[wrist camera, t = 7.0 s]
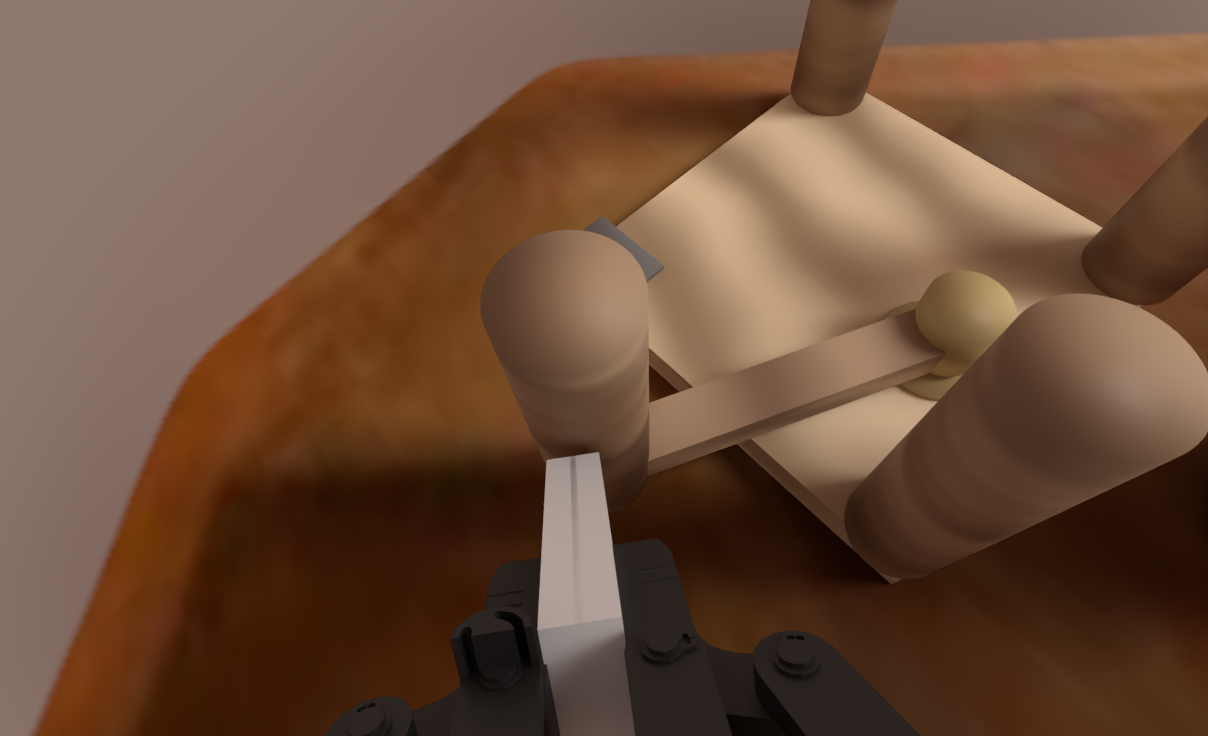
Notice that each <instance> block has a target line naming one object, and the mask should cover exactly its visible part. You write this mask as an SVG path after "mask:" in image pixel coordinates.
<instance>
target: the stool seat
mask: <svg viewBox="0 0 1208 736" xmlns="http://www.w3.org/2000/svg"><path fill="white" fill-rule="evenodd" d="M896 3H897V0H811V1H810V5H809V9H808V14H807V19H806V23H805V27H804V32H803V36H802V41H801V45H800V49H799V54H798V58H797V63H796V67H795V71H794V76H793V80H792V85H791V93H790V94H789V95H788V96H786V97H785V98H784V99H782V100H781V101H780V102H778V103H777V104H776V105H775V106H773V107H772V108H771V109H769V110H768V111H767V112H765V113H764V114H763V115H761V116H760V117H759V118H758V119H756V120H755V121H754V122H752V123H751V124H750V125H748V126H747V127H746V128H744V129H743V130H742V131H740V132H739V133H738V134H737V135H735V136H734V137H733V138H731V139H730V140H729V141H727V142H726V143H725V144H723V145H722V146H721V147H719V148H718V149H717V150H716V151H714V152H713V153H712V154H710V155H709V156H708V157H706V158H705V159H704V160H702V161H701V162H700V163H699V164H697V165H696V166H695V167H693V168H692V169H691V170H689V171H688V172H687V173H685V174H684V175H683V176H681V177H680V178H679V179H678V180H676V181H675V182H674V183H672V184H671V185H670V186H668V187H667V188H666V189H664V190H663V191H662V192H660V193H659V194H658V195H657V196H655V197H654V198H653V199H651V200H650V201H649V202H647V203H646V204H645V205H643V206H642V207H641V208H640V209H638V210H637V211H636V212H634V213H633V214H632V215H630V216H629V217H628V218H626V219H625V220H624V221H622V222H621V223H620V224H619V225H617V226H614V225H613V224H612V223H611V222H609V221H608V220H607V219H606V218H604V217H603V216H601V217H600V218H599V219H597V220H596V221H595V222H593V223H592V224H591V225H589V226H588V227H587V228H585V229H584V230H583V231H588V232H593V233H596V234H600V235H603V236H605V237H608V238H610V239H612V240H614V241H615V242H617V243H619V244H620V245H621V246H623V247H624V248H626V249H627V250H628V251H629V252H630V253H631V254H632V255H633V256H634V258H635V259H636V260H637V262H638V263H639V265H640V266H641V268H642V270H643V273H644V275H645V278H646V282H647V286H648V328H649V365H650V366H651V367H652V368H653V369H654V370H656V371H657V372H658V373H659V374H660V375H661V376H662V377H663V378H664V379H665V380H667V381H668V382H669V383H670V384H671V385H672V386H673V387H674V388H675V389H677V390H678V391H679V392H681V391H684V390H687V389H690V388H693V387H696V386H698V385H701V384H704V383H707V382H710V381H713V380H715V379H718V378H721V377H724V376H727V375H729V374H732V373H735V372H738V371H741V370H744V369H746V368H749V367H752V366H755V365H758V364H761V363H763V362H766V361H769V360H772V359H775V358H778V357H780V356H783V355H786V354H789V353H792V352H795V351H797V350H800V349H803V348H806V347H809V346H811V345H814V344H817V343H820V342H823V341H826V340H828V339H831V338H834V337H837V336H840V335H843V334H845V333H848V332H851V331H854V330H857V329H860V328H862V327H865V326H868V325H871V324H874V323H876V322H879V321H882V320H885V319H888V318H891V317H893V316H896V315H899V314H902V313H905V312H908V311H910V310H913V309H914V308H915V306H916V305H917V303H918V302H919V300H920V299H921V297H922V296H923V294H924V293H925V291H926V290H927V288H928V287H929V285H930V284H931V283H932V281H933V280H934V279H936V278H937V277H939V276H940V275H942V274H944V273H947V272H951V271H959V270H964V271H973V272H977V273H980V274H983V275H986V276H988V277H990V278H992V279H994V280H995V281H997V282H998V283H999V284H1001V285H1002V286H1003V287H1004V288H1005V289H1006V290H1007V291H1008V293H1009V294H1010V295H1011V297H1012V299H1013V301H1014V303H1015V306H1016V319H1015V320H1014V321H1013V322H1012V323H1011V324H1010V325H1009V327H1008V328H1007V329H1006V330H1005V331H1004V332H1003V333H1002V334H1001V335H1000V336H999V337H998V338H997V339H996V340H995V341H994V342H993V343H992V345H991V346H990V347H989V348H988V349H987V350H986V351H985V352H984V353H983V354H982V355H981V356H980V357H979V358H978V359H977V360H976V362H975V363H974V364H973V365H972V366H971V367H970V368H969V369H968V370H967V371H966V372H965V373H964V374H963V375H960V376H955V377H943V376H938V375H934V374H931V373H929V374H926V375H923V376H921V377H918V378H915V379H912V380H910V381H907V382H904V383H901V384H899V385H896V386H893V387H891V388H888V389H885V390H882V391H880V392H877V393H874V394H871V395H869V396H866V397H863V398H860V399H858V400H855V401H852V402H850V403H847V404H844V405H841V406H839V407H836V408H833V409H830V410H828V411H825V412H822V413H819V414H817V415H814V416H811V417H809V418H806V419H803V420H800V421H798V422H795V423H792V424H789V425H787V426H784V427H781V428H778V429H776V430H773V431H770V432H768V433H765V434H762V435H759V436H757V437H754V438H751V439H748V440H746V441H743V442H740V443H738V444H737V445H738V446H739V447H740V448H742V449H743V450H744V451H745V452H746V453H747V454H748V455H749V456H750V457H751V458H753V459H754V460H755V461H756V462H757V463H758V464H759V465H760V466H761V467H762V468H764V469H765V470H766V471H767V472H768V473H769V474H770V475H771V476H772V477H773V478H775V479H776V480H777V481H778V482H779V483H780V484H781V485H782V486H783V487H784V488H786V489H787V490H788V491H789V492H790V493H791V494H792V495H793V496H794V497H795V498H797V499H798V500H799V501H800V502H801V503H802V504H803V505H804V506H805V507H807V508H808V509H809V510H810V511H811V512H812V513H813V514H814V515H815V516H816V517H818V518H819V519H820V520H821V521H822V522H823V523H824V524H825V525H826V526H827V527H829V528H830V529H831V530H832V531H833V532H834V533H835V534H836V535H837V536H838V537H840V538H841V539H842V540H843V541H844V542H845V543H846V544H847V545H848V546H849V547H851V548H852V549H853V550H854V551H855V552H856V553H857V554H858V555H859V556H860V557H861V558H862V559H863V560H864V561H865V562H866V563H867V564H868V565H870V566H871V567H872V568H874V569H875V570H876V571H877V572H878V573H879V574H880V575H881V576H883V577H884V578H885V579H886V580H887V581H888V582H889V583H890V584H893V583H895V582H897V581H899V580H901V579H916V578H921V577H924V576H927V575H929V574H931V573H933V572H936V571H938V570H940V569H942V568H944V567H946V566H948V565H950V564H953V563H955V562H957V561H959V560H961V559H963V558H965V557H967V556H970V555H972V554H974V553H976V552H978V551H980V550H982V549H984V548H986V547H989V546H991V545H993V544H995V543H997V542H999V541H1001V540H1003V539H1006V538H1008V537H1010V536H1012V535H1014V534H1016V533H1018V532H1020V531H1023V530H1025V529H1027V528H1029V527H1031V526H1033V525H1035V524H1037V523H1039V522H1042V521H1044V520H1046V519H1048V518H1050V517H1052V516H1054V515H1056V514H1059V513H1061V512H1063V511H1065V510H1067V509H1069V508H1071V507H1073V506H1076V505H1078V504H1080V503H1082V502H1084V501H1086V500H1088V499H1090V498H1093V497H1095V496H1097V495H1099V494H1101V493H1103V492H1105V491H1107V490H1109V489H1112V488H1114V487H1116V486H1118V485H1120V484H1122V483H1124V482H1126V481H1129V480H1131V479H1133V478H1135V477H1137V476H1139V475H1141V474H1143V473H1146V472H1148V471H1150V470H1152V469H1154V468H1156V467H1158V466H1160V465H1162V464H1165V463H1167V462H1169V461H1171V460H1173V459H1175V458H1177V457H1179V456H1181V455H1183V454H1185V453H1187V452H1189V451H1190V450H1191V449H1193V448H1194V447H1196V446H1197V445H1198V444H1199V443H1200V442H1201V440H1202V439H1203V438H1204V437H1205V435H1206V434H1207V432H1208V372H1207V370H1206V368H1205V366H1204V364H1203V363H1202V361H1201V360H1200V358H1199V357H1198V355H1197V354H1196V352H1195V351H1194V350H1193V349H1192V347H1191V346H1190V345H1189V344H1188V343H1187V342H1186V341H1185V340H1184V339H1183V338H1182V337H1181V336H1180V335H1179V334H1178V333H1177V332H1176V331H1175V330H1173V329H1172V328H1171V327H1170V326H1168V325H1167V324H1166V323H1164V322H1163V321H1161V320H1160V319H1158V318H1157V317H1155V316H1154V315H1152V314H1150V313H1148V312H1146V311H1145V310H1143V309H1141V308H1140V307H1141V305H1152V304H1157V303H1160V302H1163V301H1165V300H1167V299H1168V298H1170V297H1171V296H1172V295H1173V294H1175V293H1176V292H1177V291H1178V290H1180V289H1181V288H1182V287H1183V286H1185V285H1186V284H1187V283H1189V282H1190V281H1191V280H1192V279H1194V278H1195V277H1196V276H1197V275H1199V274H1200V273H1201V272H1203V271H1204V270H1205V269H1206V268H1208V117H1207V118H1206V119H1205V120H1204V121H1203V122H1202V123H1201V124H1200V125H1199V127H1198V128H1197V129H1196V130H1195V131H1194V132H1193V133H1192V134H1191V135H1190V136H1189V137H1188V138H1187V139H1186V140H1185V141H1184V142H1183V143H1182V145H1181V146H1180V147H1179V148H1178V149H1177V150H1176V151H1175V152H1174V153H1173V154H1172V155H1171V156H1170V157H1169V158H1168V159H1167V160H1166V161H1165V163H1164V164H1163V165H1162V166H1161V167H1160V168H1159V169H1158V170H1157V171H1156V172H1155V173H1154V174H1153V175H1152V176H1151V177H1150V178H1149V179H1148V181H1147V182H1146V183H1145V184H1144V185H1143V186H1142V187H1141V188H1140V189H1139V190H1138V191H1137V192H1136V193H1135V194H1134V195H1133V196H1132V197H1131V198H1130V200H1129V201H1128V202H1127V203H1126V204H1125V205H1124V206H1123V207H1122V208H1121V209H1120V210H1119V211H1118V212H1117V213H1116V214H1115V215H1114V216H1113V218H1112V219H1111V220H1110V221H1109V222H1108V223H1107V224H1106V225H1105V226H1104V227H1103V228H1102V227H1100V226H1098V225H1096V224H1095V223H1093V222H1091V221H1089V220H1088V219H1086V218H1084V217H1082V216H1081V215H1079V214H1077V213H1076V212H1074V211H1072V210H1070V209H1069V208H1067V207H1065V206H1063V205H1062V204H1060V203H1058V202H1056V201H1055V200H1053V199H1051V198H1049V197H1048V196H1046V195H1044V194H1042V193H1041V192H1039V191H1037V190H1035V189H1034V188H1032V187H1030V186H1028V185H1027V184H1025V183H1023V182H1021V181H1020V180H1018V179H1016V178H1014V177H1013V176H1011V175H1009V174H1007V173H1006V172H1004V171H1002V170H1000V169H999V168H997V167H995V166H993V165H992V164H990V163H988V162H986V161H985V160H983V159H981V158H979V157H978V156H976V155H974V154H972V153H971V152H969V151H967V150H965V149H964V148H962V147H960V146H958V145H957V144H955V143H953V142H951V141H950V140H948V139H946V138H944V137H943V136H941V135H939V134H937V133H936V132H934V131H932V130H930V129H929V128H927V127H925V126H923V125H922V124H920V123H918V122H916V121H915V120H913V119H911V118H909V117H908V116H906V115H904V114H902V113H901V112H899V111H897V110H895V109H894V108H892V107H890V106H888V105H887V104H885V103H883V102H882V101H880V100H878V99H876V98H875V97H873V96H871V95H869V94H868V93H866V89H867V87H868V84H869V81H870V78H871V75H872V72H873V69H874V66H875V64H876V61H877V58H878V55H879V52H880V49H881V46H882V44H883V40H884V38H885V35H886V32H887V29H888V26H889V23H890V21H891V18H892V15H893V12H894V9H895V6H896Z"/></svg>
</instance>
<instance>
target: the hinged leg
mask: <svg viewBox="0 0 1208 736" xmlns="http://www.w3.org/2000/svg"><path fill="white" fill-rule="evenodd" d="M480 305H481V316H482V320H483V324H484V326H485V329H486V331H487V334H488V336H489V338H490V340H491V343H492V345H493V347H494V349H495V352H496V354H497V356H498V359H499V361H500V363H501V365H502V368H503V370H504V372H505V374H506V377H507V379H508V381H509V384H510V386H511V388H512V390H513V393H514V395H515V397H516V399H517V402H518V404H519V406H520V408H521V411H522V413H523V415H524V418H525V420H526V422H527V424H528V427H529V429H530V431H531V433H532V436H533V438H534V440H535V443H536V445H537V447H538V449H539V452H540V454H541V456H542V458H543V461H544V463H545V465H546V461H547V460H550V459H556V458H563V457H570V456H577V455H583V454H590V453H597V452H599V456H600V462H601V469H602V476H603V483H604V489H605V496H606V503H607V510H608V513H612V512H616V511H618V510H621V509H623V508H625V507H626V506H628V505H629V504H631V503H632V502H633V501H634V500H635V499H636V498H637V497H638V496H639V495H640V493H641V492H642V490H643V489H644V487H645V485H646V482H647V479H648V476H650V475H653V474H656V473H658V472H661V471H664V470H666V469H669V468H672V467H675V466H677V465H680V464H683V463H686V462H688V461H691V460H694V459H697V458H699V457H702V456H705V455H707V454H710V453H713V452H716V451H718V450H721V449H724V448H727V447H729V446H732V445H735V444H738V443H740V442H743V441H746V440H748V439H751V438H754V437H757V436H759V435H762V434H765V433H768V432H770V431H773V430H776V429H778V428H781V427H784V426H787V425H789V424H792V423H795V422H798V421H800V420H803V419H806V418H809V417H811V416H814V415H817V414H819V413H822V412H825V411H828V410H830V409H833V408H836V407H839V406H841V405H844V404H847V403H850V402H852V401H855V400H858V399H860V398H863V397H866V396H869V395H871V394H874V393H877V392H880V391H882V390H885V389H888V388H891V387H893V386H896V385H899V384H901V383H904V382H907V381H910V380H912V379H915V378H918V377H921V376H923V375H926V374H929V373H931V374H934V375H938V376H943V377H955V376H960V375H963V374H964V373H965V372H966V371H967V370H968V369H969V368H970V367H971V366H972V365H973V364H974V363H975V362H976V360H977V359H978V358H979V357H980V356H981V355H982V354H983V353H984V352H985V351H986V350H987V349H988V348H989V347H990V346H991V345H992V343H993V342H994V341H995V340H996V339H997V338H998V337H999V336H1000V335H1001V334H1002V333H1003V332H1004V331H1005V330H1006V329H1007V328H1008V327H1009V325H1010V324H1011V323H1012V322H1013V321H1014V320H1015V319H1016V306H1015V303H1014V301H1013V299H1012V297H1011V295H1010V294H1009V293H1008V291H1007V290H1006V289H1005V288H1004V287H1003V286H1002V285H1001V284H999V283H998V282H997V281H995V280H994V279H992V278H990V277H988V276H986V275H983V274H980V273H977V272H973V271H964V270H959V271H951V272H947V273H944V274H942V275H940V276H939V277H937V278H936V279H934V280H933V281H932V283H931V284H930V285H929V287H928V288H927V290H926V291H925V293H924V294H923V296H922V297H921V299H920V300H919V302H918V303H917V305H916V306H915V308H914V309H913V310H910V311H908V312H905V313H902V314H899V315H896V316H893V317H891V318H888V319H885V320H882V321H879V322H876V323H874V324H871V325H868V326H865V327H862V328H860V329H857V330H854V331H851V332H848V333H845V334H843V335H840V336H837V337H834V338H831V339H828V340H826V341H823V342H820V343H817V344H814V345H811V346H809V347H806V348H803V349H800V350H797V351H795V352H792V353H789V354H786V355H783V356H780V357H778V358H775V359H772V360H769V361H766V362H763V363H761V364H758V365H755V366H752V367H749V368H746V369H744V370H741V371H738V372H735V373H732V374H729V375H727V376H724V377H721V378H718V379H715V380H713V381H710V382H707V383H704V384H701V385H698V386H696V387H693V388H690V389H687V390H684V391H681V392H679V393H676V394H673V395H670V396H667V397H664V398H662V399H659V400H656V401H653V402H650V403H649V328H648V286H647V282H646V278H645V275H644V273H643V270H642V268H641V266H640V265H639V263H638V262H637V260H636V259H635V258H634V256H633V255H632V254H631V253H630V252H629V251H628V250H627V249H626V248H624V247H623V246H621V245H620V244H619V243H617V242H615V241H614V240H612V239H610V238H608V237H605V236H603V235H600V234H596V233H593V232H588V231H582V230H559V231H552V232H548V233H544V234H540V235H537V236H535V237H532V238H529V239H527V240H525V241H523V242H521V243H520V244H518V245H517V246H515V247H514V248H512V249H511V250H510V251H508V252H507V253H506V254H505V255H504V256H503V257H502V258H501V259H500V260H499V261H498V262H497V263H496V265H495V266H494V267H493V268H492V270H491V272H490V273H489V275H488V277H487V279H486V282H485V284H484V286H483V291H482V295H481V304H480Z"/></svg>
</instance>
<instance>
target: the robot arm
mask: <svg viewBox="0 0 1208 736" xmlns="http://www.w3.org/2000/svg"><path fill="white" fill-rule="evenodd" d="M487 597H488V599H487V600H486V606H485V610H481V611H479V612H477V613H475V614H473V615H471V616H470V617H468V618H466V619H465V620H464V621H463V622H462V623H461V624H460V625H459V626H458V627H456V629H455V631H454V633H453V635H452V637H451V639H450V640H451V644H452V648H453V652H454V656H455V660H456V665H457V669H458V673H459V677H460V685H459V688H458V689H457V690H455V691H454V692H452V693H451V694H450V695H448V696H447V697H445V698H443V699H441V700H439V701H437V702H435V703H432V704H430V705H427V706H425V707H422V708H420V709H418V710H415V711H413V712H412V711H411V708H410V706H409V705H408V704H407V703H406V702H405V701H404V700H403V699H400V698H395V697H391V696H387V697H378V698H373V699H370V700H368V701H365V702H363V703H360V704H358V705H356V706H355V707H353V708H352V709H350V710H349V711H347V712H346V713H344V714H343V715H342V716H341V717H340V718H339V719H338V720H337V721H336V722H335V723H334V724H333V725H332V726H331V728H330V729H329V730H328V732H327V733H326V735H325V736H921V735H920V734H919V733H918V732H917V731H916V730H915V729H914V728H913V727H912V726H911V725H910V724H909V723H908V722H907V721H906V720H905V719H904V718H903V717H902V716H901V715H900V714H899V713H898V712H897V711H896V710H895V709H894V708H893V707H892V706H891V705H890V704H889V703H888V702H887V701H886V700H885V699H884V698H883V697H882V696H881V695H880V694H879V693H878V692H877V691H876V690H875V689H874V688H873V687H872V686H871V685H870V684H869V683H868V682H867V681H866V680H865V679H864V678H863V677H862V676H861V675H860V674H859V673H858V672H857V671H856V670H855V669H854V668H853V667H852V666H851V665H850V664H849V663H848V662H847V661H846V660H845V659H844V657H843V656H842V655H841V654H840V653H839V652H838V651H837V650H836V649H835V648H834V647H833V646H831V645H830V644H828V643H827V642H826V641H824V640H823V639H822V638H820V637H817V636H814V635H812V634H809V633H806V632H798V631H784V632H779V633H774V634H772V635H770V636H768V637H766V638H764V639H763V640H761V641H760V643H759V644H758V645H757V647H756V648H755V649H754V654H745V653H735V652H730V651H724V650H721V649H719V648H716V647H713V646H712V645H710V644H708V643H707V642H705V641H704V640H703V639H702V638H701V637H700V636H699V635H698V633H697V632H696V630H695V628H694V626H693V623H692V620H691V616H690V613H689V609H688V606H687V603H686V599H685V596H684V593H683V589H682V586H681V582H680V580H679V576H678V572H677V569H676V566H675V562H674V559H673V555H672V552H671V550H670V549H669V548H668V547H667V546H666V545H665V544H664V543H662V542H661V541H660V540H659V539H658V538H655V539H648V540H642V541H635V542H629V543H622V544H616V545H613V544H612V537H611V530H610V523H609V516H608V510H607V503H606V496H605V489H604V483H603V476H602V469H601V462H600V456H599V452H597V453H590V454H583V455H577V456H570V457H563V458H556V459H550V460H547V461H546V480H545V498H544V517H543V535H542V553H541V558H535V559H529V560H522V561H516V562H509V563H503V564H502V565H501V566H500V567H499V569H498V570H497V571H496V572H495V574H494V575H493V576H492V578H491V579H490V583H489V589H488V594H487Z"/></svg>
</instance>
